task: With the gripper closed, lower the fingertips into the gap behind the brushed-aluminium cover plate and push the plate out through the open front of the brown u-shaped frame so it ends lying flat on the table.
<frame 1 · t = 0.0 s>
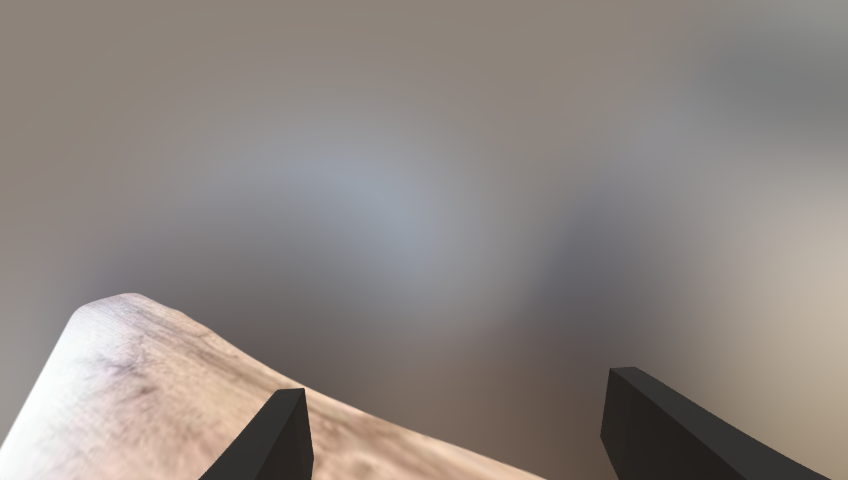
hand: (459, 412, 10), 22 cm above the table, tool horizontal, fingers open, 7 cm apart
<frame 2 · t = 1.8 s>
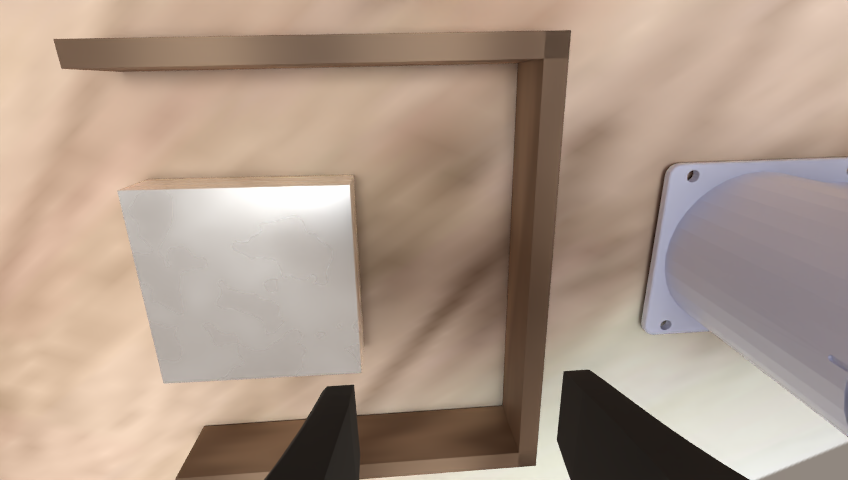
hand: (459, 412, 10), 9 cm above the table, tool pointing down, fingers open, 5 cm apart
brown u-shaped frame: (335, 266, 19), on the table
cover plate: (267, 265, 19), on the table
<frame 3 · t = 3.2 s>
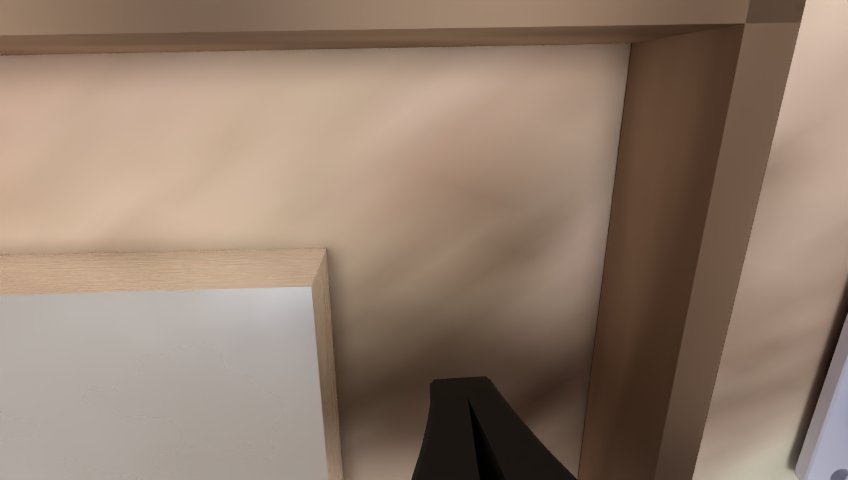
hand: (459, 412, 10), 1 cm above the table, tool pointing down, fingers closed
brown u-shaped frame: (296, 395, 11), on the table
cover plate: (181, 391, 11), on the table
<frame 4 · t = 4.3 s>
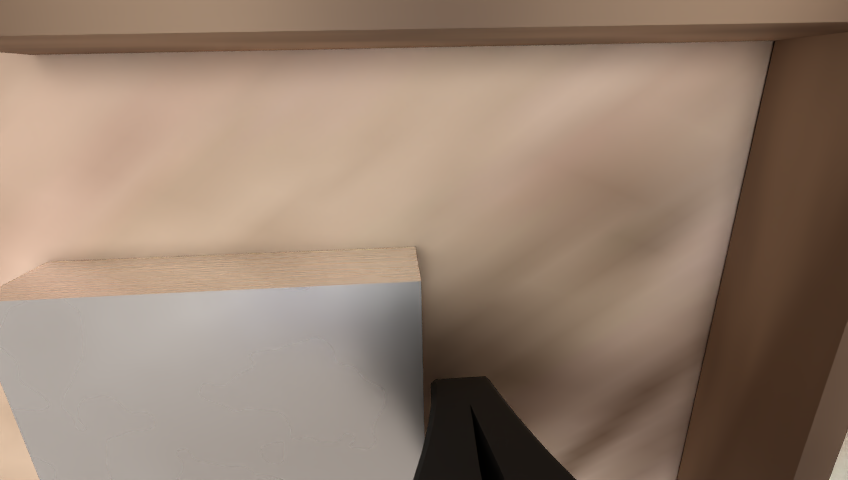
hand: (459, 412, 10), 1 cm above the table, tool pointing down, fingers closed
brown u-shaped frame: (417, 387, 11), on the table
cover plate: (267, 386, 12), on the table, touching gripper
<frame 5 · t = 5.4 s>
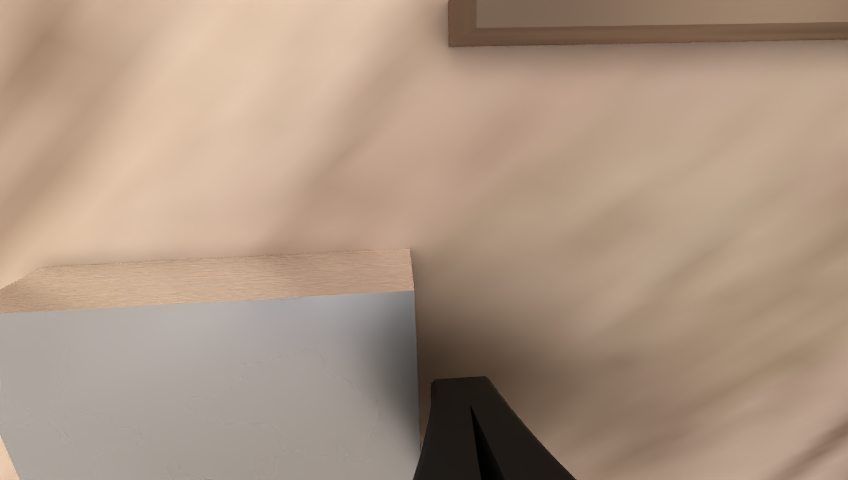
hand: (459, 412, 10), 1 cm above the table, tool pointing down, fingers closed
brown u-shaped frame: (710, 368, 12), on the table
cover plate: (261, 396, 11), on the table
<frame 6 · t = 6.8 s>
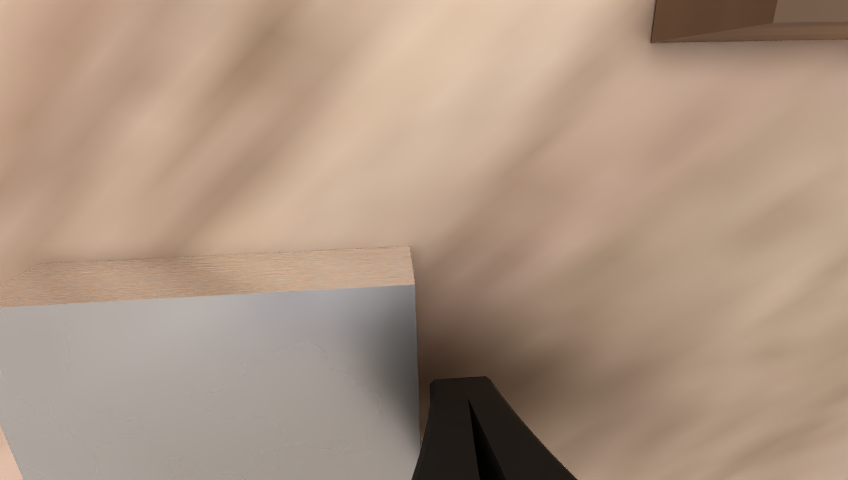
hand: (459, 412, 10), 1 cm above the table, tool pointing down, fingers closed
cover plate: (261, 390, 11), on the table
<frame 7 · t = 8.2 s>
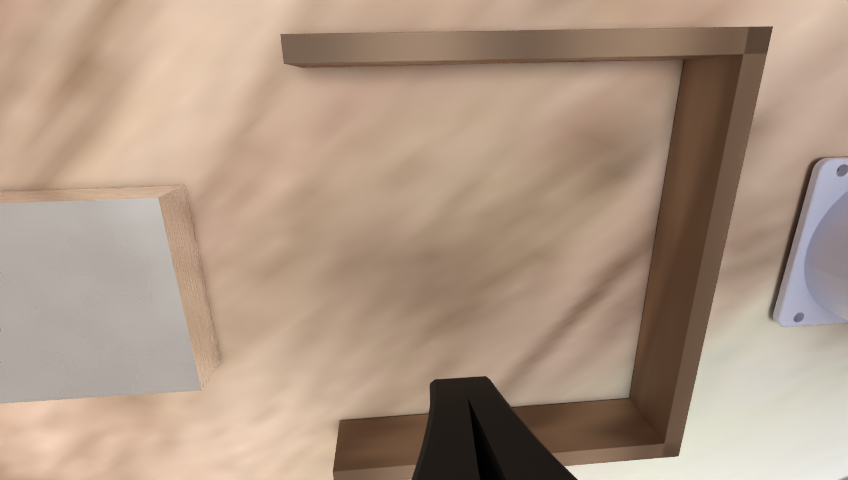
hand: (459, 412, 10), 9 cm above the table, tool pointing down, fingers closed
brown u-shaped frame: (485, 260, 19), on the table
cover plate: (109, 279, 19), on the table
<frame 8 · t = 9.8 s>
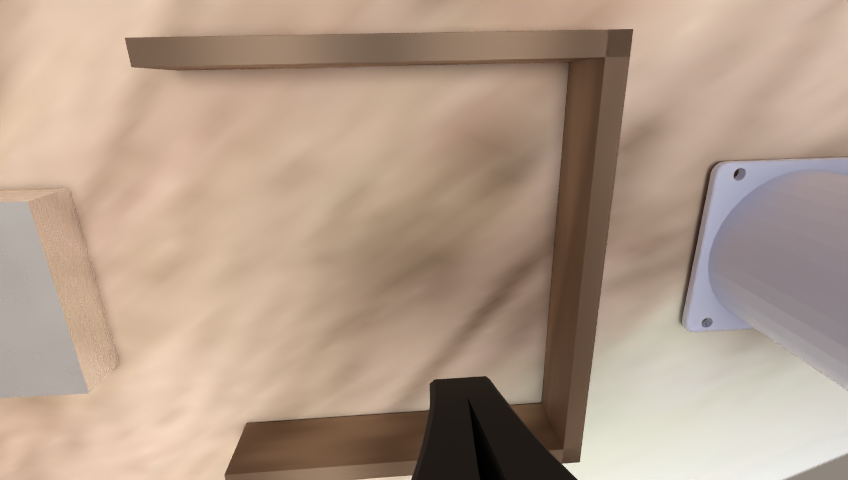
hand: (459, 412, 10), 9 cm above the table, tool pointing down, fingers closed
brown u-shaped frame: (382, 264, 19), on the table
cover plate: (4, 281, 19), on the table
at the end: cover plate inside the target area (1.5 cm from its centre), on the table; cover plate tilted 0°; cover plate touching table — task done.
